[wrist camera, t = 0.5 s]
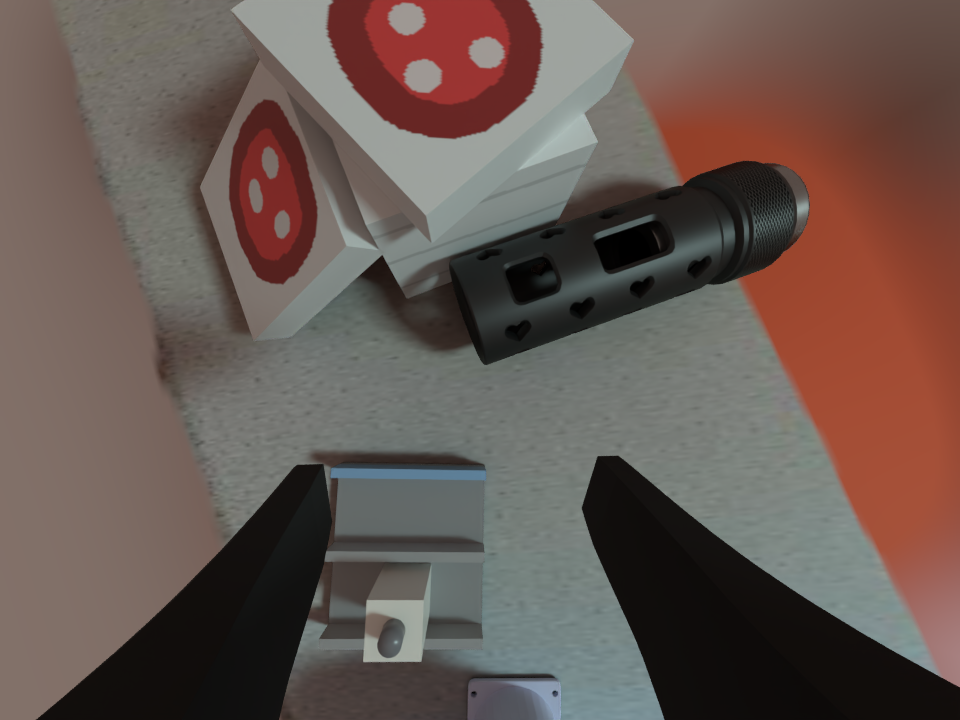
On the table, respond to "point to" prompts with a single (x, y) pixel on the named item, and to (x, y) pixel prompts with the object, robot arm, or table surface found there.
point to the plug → (398, 613)
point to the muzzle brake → (628, 257)
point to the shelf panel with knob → (408, 546)
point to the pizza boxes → (399, 140)
